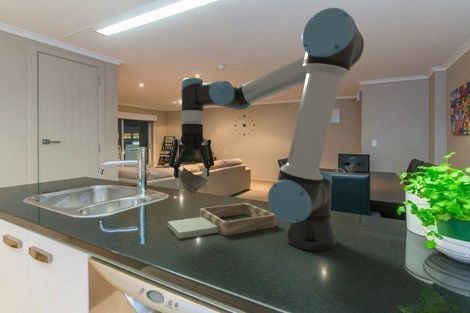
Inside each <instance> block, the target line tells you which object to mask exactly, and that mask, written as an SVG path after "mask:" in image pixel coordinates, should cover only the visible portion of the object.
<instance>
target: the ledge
mask: <svg viewBox="0 0 470 313" xmlns="http://www.w3.org/2000/svg"><path fill="white" fill-rule="evenodd" d="M167 228H168V230H170V231H171V232H172V233H173V234H174V235H175V236H176V237H177V238H178V239H179V240H180V239H185V238H191V237H197V236H198V237H199V236H206V235H210V234H215V233H219V232H218V226H216V225H214V224H213V223H211V222H210V221H208V220H207V219H205V218H204V217H200V216H199V217H191V218H184V219H178V220H177V219H176V220H170V221H167Z"/></svg>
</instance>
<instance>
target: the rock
mask: <svg viewBox="0 0 470 313" xmlns="http://www.w3.org/2000/svg"><path fill="white" fill-rule="evenodd" d="M180 175H181V176H180V179H181V185H182V187H183V189H184V191H187V192H188V193H191V194H196V193H197V192H198V190H200V189H201V188H202V187H204V186H203V185H204V184H205V183H206V182H207V183H208V178H207V179H205V178H203V177H202V175H198V174H194V173H193V171H191V170H190V171H189V169H188V168H187V169H186V168H185V167H184V166H183V167H182V169H181V172H180Z"/></svg>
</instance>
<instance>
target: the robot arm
mask: <svg viewBox="0 0 470 313" xmlns="http://www.w3.org/2000/svg"><path fill="white" fill-rule="evenodd" d="M357 26H358V25H356V21H355V20H354V18H353V16H352V15H351V14H349V13H348V12H347V11H346V10H344V9H341V8H338V7H329V8H325V9H321V10H320V11H318V12H316V14H314V15H313V16H312V17H311V18H310V19H308V21H307V22H306V24H305V25H304V27H303V31H302V34H301V43H302V47H303V49H304V51H305V52H304V55H303V57H300V58H298V59H296V60H294V61H291V62H289V63H287V64H285V65H283V66H280V67H278V68H276V69H273V70H272V71H271V70H270V71H269V72H267V73H265V74H262V75H260V76H258V77H256V78H253V79H251V80H249V81H247V82H245V83H243V84H240V85H238V86H236V87H235V86H233V84H231V82H230V81H228V80H216V81H215V80H214V81H210V82H204V81H203V79H202V78H199V77H185V78H184V79H183V80H182V81H181V91H180V92H181V123H182V124H181V137H180V138H172V148H171V153H170V157H169V160H168V161H169V162H168V167H169V168H172V169H173V177H174V179H176V188H178V189H181V188H182V182H181V179H180V176H181V175H180V172H181V171H182V169H181V168H180V167H181V165H182V162H183V161H184V159H185V156H186V155H187V153H188V151H190V150H192V151H193V150H194V151H196V152H197V154H198V157H199V158H200V161H201V162H202V164H203V166H204V167H202V168H201V171H202V173H201V174H202V175H201V177H203V178H205V179H207V180H208V177H209V176H210V169H211V167H213V166H215V160H214V155H213V152H212V147H211V146H212V145H211V144H212V140H211V139H209V138H207V139H206V138H204V124H203V123H204V107H207V106H218V107H223V108H229V109H232V110H233V109H234V110H236V111H237V110H238V111H242V110H243V111H245V110H246V109H249V107H250V106H251V105H252V104H253V103H256V102H258V101H259V102H260V101H262V100H264V99H266V98H269V97H271V96H274V95H277V94H280V93H282V92H284V91H287V90H290V89H292V88H295V87H297V86H300V85H303V84H304V86H303V90H302V93H301V94H302V95H301V98H300V104H299V109H298V112H297V116H296V121H295V127H294V129H293V135H292V140H291V144H290V148H289V152H288V157H287V162H286V163H285V164H283V165H282V166H280V168H279V172H278V177H277V181H276V182H274V183H273V184H272V185H271V186H270V188H269V189H268V193H267V203H268V207H269V208H270V210H271V212H272V213H274V215H275V216H276V218H277V219H279V220H280V221H282V222H286V223H288V224H289V223H290V224H289V228H288V230H287V232H286V242H287V244H289V245H291V246H292V247H295V248H297V249H302V250H306V251H314V252H321V251H329V250H333V249H334V248H335V247H336V235H335V234H334V229H333V225H332V222H331V214H332V212H331V211H332V210H331V208H332V186H333V180H332V175H331V173H330V172H327V171H320V167H321V162H322V159H323V155H324V150H325V146H326V142H327V138H328V133H329V129H330V125H331V122H332V121H331V120H332V117H333V113H334V109H335V105H336V100H337V96H338V93H339V89H340V85H341V80H342V79H343V78H344V77H346V76H348V75H349V73H350V70H351V68H352V67H354V66H355V65H356V64H357V63H358V62H359V60H360V59H361V57H362V55H363V52H364V47H365V41H364V37H363V35H362V33H361V32H360V30H359V29H358V27H357ZM180 143H181V144H182V145H183V146H182V148H181V150H180V152H179V155H178V156H177V154H178V150H179V145H180ZM202 144H204V147H205V152H204V150H203V147H202ZM205 153H206V155H205ZM176 158H177V159H176ZM207 186H208V181H207V182H206V183H205V184H204V185H203V186H202V187H207Z"/></svg>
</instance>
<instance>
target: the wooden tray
mask: <svg viewBox="0 0 470 313" xmlns="http://www.w3.org/2000/svg"><path fill="white" fill-rule="evenodd" d="M238 215H248V216H249V217H246V218H239V219H233V220H224V219H222V218H223V217H225V218H226V217H230V216H232V217H233V216H238ZM199 217H204V218H205V219H207V220H208V221H210V222H211V223H213V224H214V225H216V226H218V232H217V233H219V234H221V235H222V236H231V235H236V234H242V233H247V232H249V233H250V232H254V231H260V230H265V229H270V228H272V229H273V228H275V227H276V226H277V217H276V216H275V215H274V213H273V212H272V211H268V210H265V209H263V208H261V207H257V206H255V205H253V204H250V203H248V202H247V203H244V202H242V203H233V204H226V205H225V204H224V205H217V206H207V207H202V208H199Z"/></svg>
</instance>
